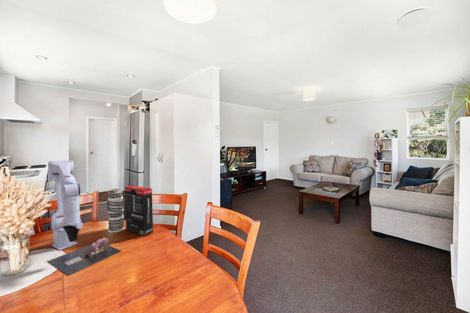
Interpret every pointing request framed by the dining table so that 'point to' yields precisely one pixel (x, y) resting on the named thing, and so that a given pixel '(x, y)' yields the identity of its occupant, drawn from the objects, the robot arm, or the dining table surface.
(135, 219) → the graphics card box
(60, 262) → the panel
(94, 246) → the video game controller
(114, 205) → the decorative candle
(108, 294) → the dining table surface
